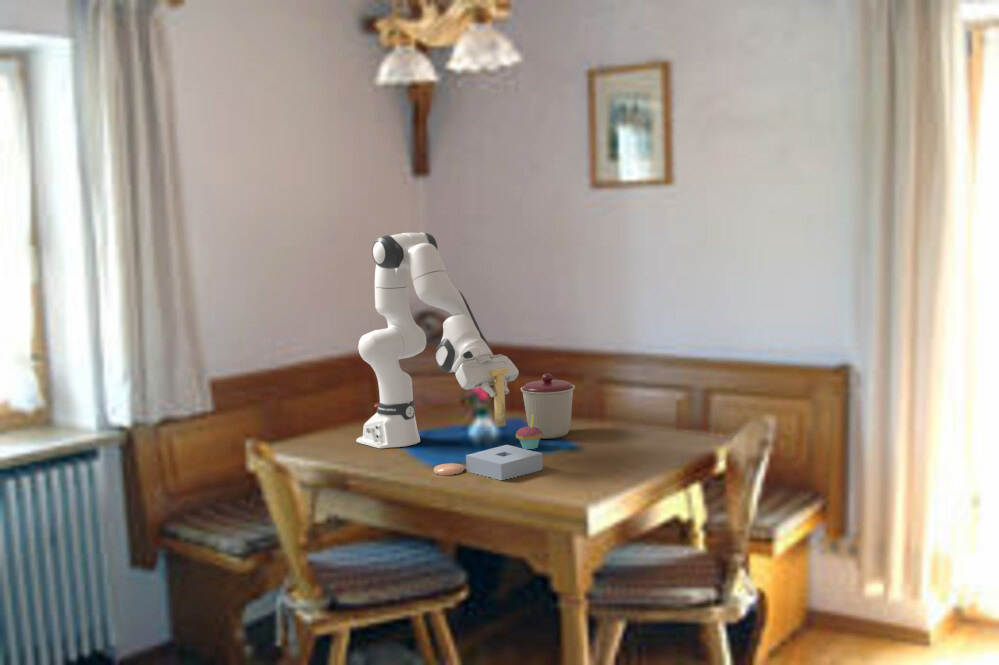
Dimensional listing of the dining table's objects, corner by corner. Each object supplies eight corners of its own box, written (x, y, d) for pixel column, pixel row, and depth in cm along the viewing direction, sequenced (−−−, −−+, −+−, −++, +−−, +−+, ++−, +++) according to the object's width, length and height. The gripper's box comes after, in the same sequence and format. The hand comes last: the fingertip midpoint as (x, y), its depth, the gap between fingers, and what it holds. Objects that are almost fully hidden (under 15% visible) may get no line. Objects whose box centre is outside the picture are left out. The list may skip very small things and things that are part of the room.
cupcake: (547, 446, 334) (546, 409, 332) (535, 452, 327) (533, 415, 325) (524, 444, 338) (522, 407, 337) (511, 450, 331) (509, 413, 329)
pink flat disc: (427, 473, 309) (427, 469, 309) (447, 465, 316) (447, 462, 316) (450, 477, 303) (450, 473, 303) (470, 469, 311) (469, 465, 310)
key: (489, 426, 305) (486, 370, 303) (504, 422, 309) (502, 367, 306) (496, 428, 302) (493, 371, 300) (511, 424, 306) (509, 368, 304)
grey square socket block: (466, 471, 309) (466, 455, 308) (507, 460, 319) (506, 444, 318) (501, 481, 296) (500, 464, 296) (542, 469, 307) (542, 453, 306)
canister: (577, 428, 356) (575, 368, 353) (575, 441, 338) (573, 377, 335) (524, 429, 358) (522, 369, 355) (520, 442, 340) (517, 379, 337)
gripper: (499, 360, 318) (522, 395, 312) (447, 369, 305) (469, 406, 299) (508, 347, 314) (531, 382, 308) (455, 356, 301) (478, 393, 295)
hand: (500, 394), depth 304 cm, fingers closed on key, 3 cm apart
